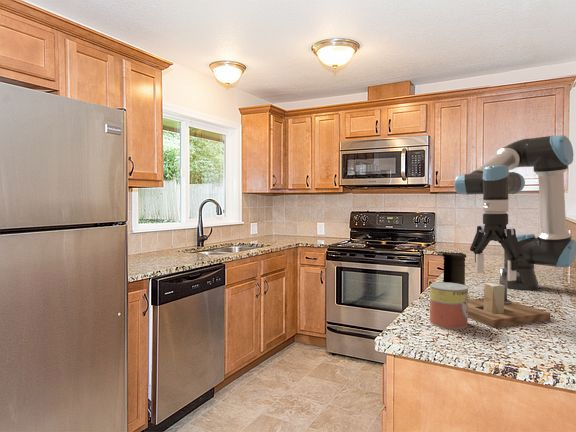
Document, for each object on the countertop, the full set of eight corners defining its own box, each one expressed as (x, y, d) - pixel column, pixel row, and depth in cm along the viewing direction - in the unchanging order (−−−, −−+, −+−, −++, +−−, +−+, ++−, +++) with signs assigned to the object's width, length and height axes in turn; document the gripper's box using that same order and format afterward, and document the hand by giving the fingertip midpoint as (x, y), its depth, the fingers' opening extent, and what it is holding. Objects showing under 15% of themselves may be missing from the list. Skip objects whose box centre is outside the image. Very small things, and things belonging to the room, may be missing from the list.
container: (465, 297, 161) (465, 252, 160) (467, 303, 153) (468, 255, 152) (441, 296, 164) (441, 251, 163) (441, 301, 156) (442, 254, 155)
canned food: (464, 331, 121) (465, 291, 121) (425, 325, 127) (426, 287, 127) (470, 321, 131) (470, 284, 130) (433, 316, 137) (434, 280, 136)
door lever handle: (503, 300, 147) (503, 267, 147) (523, 306, 139) (523, 271, 139) (492, 301, 146) (492, 268, 145) (511, 307, 138) (512, 272, 137)
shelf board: (496, 303, 152) (496, 297, 152) (550, 320, 131) (550, 312, 131) (445, 308, 145) (445, 302, 145) (493, 327, 124) (493, 319, 124)
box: (482, 314, 138) (483, 282, 137) (494, 314, 138) (495, 282, 138) (492, 319, 133) (493, 285, 132) (504, 318, 133) (505, 285, 133)
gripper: (459, 211, 145) (459, 270, 146) (518, 214, 121) (517, 285, 122) (476, 210, 147) (476, 268, 148) (537, 213, 123) (536, 283, 124)
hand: (495, 276), depth 135 cm, fingers open, 13 cm apart
